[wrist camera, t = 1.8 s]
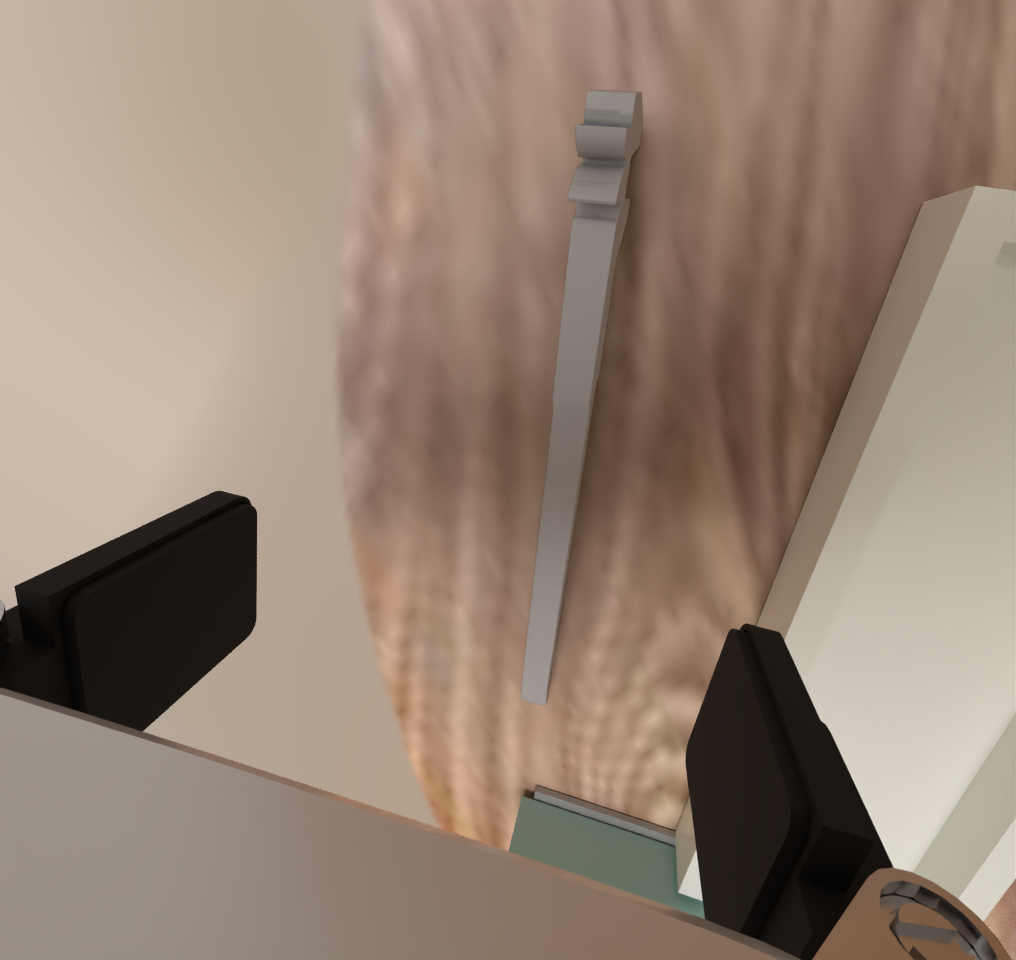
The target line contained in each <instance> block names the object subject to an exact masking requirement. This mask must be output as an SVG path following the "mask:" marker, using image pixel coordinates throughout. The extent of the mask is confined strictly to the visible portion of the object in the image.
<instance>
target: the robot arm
mask: <svg viewBox="0 0 1016 960" xmlns="http://www.w3.org/2000/svg"><path fill="white" fill-rule="evenodd" d="M256 588H257V511H256V509H255V508H254V507H253V506H251V503H250V500H249V499H248V498H246V497H242V496H239V495H235V494H231V493H227V492H223V491H216V492H213V493H211V494H209V495H207V496H205V497H202V498H200V499H199V500H196V501H194V502H192V503H190V504H188V505H185V506H183V507H181V508H179V509H177V510H175V511H173V512H171V513H169V514H166V515H164V516H162V517H160V518H158V519H156V520H154V521H152V522H150V523H147V524H145V525H143V526H141V527H139V528H137V529H135V530H133V531H131V532H128V533H126V534H124V535H122V536H120V537H118V538H116V539H114V540H111V541H109V542H107V543H105V544H103V545H101V546H99V547H97V548H95V549H92V550H90V551H88V552H86V553H84V554H82V555H80V556H78V557H76V558H73V559H71V560H69V561H67V562H65V563H63V564H61V565H59V566H57V567H55V568H52V569H50V570H48V571H46V572H44V573H42V574H40V575H38V576H35V577H33V578H31V579H29V580H27V581H25V582H23V583H21V584H19V585H16V586H15V591H16V597H17V603H18V605H17V606H15V607H13V608H11V609H9V610H7V611H5V606H4V604H3V603H2V602H1V600H0V960H1011V958H1010V956H1009V955H1008V953H1007V952H1006V950H1005V949H1004V947H1003V946H1002V944H1001V943H1000V941H999V939H998V938H997V937H996V936H995V935H994V934H993V932H992V931H991V930H990V929H989V928H988V927H987V926H986V925H985V923H984V922H983V921H982V920H981V919H980V918H979V917H978V916H977V915H976V914H975V913H974V912H973V911H971V910H970V909H969V908H968V907H967V906H966V905H965V904H963V903H962V902H961V901H960V900H959V899H958V898H957V897H955V896H954V895H952V894H951V893H949V892H948V891H946V890H945V889H943V888H942V887H940V886H939V885H937V884H936V883H934V882H932V881H930V880H928V879H926V878H924V877H922V876H919V875H917V874H915V873H913V872H910V871H905V870H901V869H897V868H894V867H893V865H892V863H891V861H890V858H889V856H888V854H887V852H886V850H885V848H884V846H883V843H882V841H881V839H880V837H879V835H878V833H877V831H876V828H875V826H874V824H873V822H872V820H871V818H870V816H869V813H868V811H867V809H866V807H865V805H864V803H863V801H862V798H861V796H860V794H859V792H858V790H857V788H856V786H855V783H854V781H853V779H852V777H851V775H850V773H849V770H848V768H847V766H846V764H845V762H844V760H843V758H842V755H841V753H840V751H839V749H838V747H837V745H836V743H835V740H834V738H833V736H832V734H831V732H830V730H829V729H828V727H827V726H826V724H825V723H823V722H822V721H821V720H820V718H819V716H818V714H817V711H816V709H815V707H814V705H813V703H812V700H811V698H810V696H809V694H808V692H807V689H806V687H805V685H804V683H803V681H802V678H801V676H800V674H799V672H798V670H797V667H796V665H795V663H794V661H793V659H792V656H791V654H790V652H789V650H788V648H787V645H786V643H785V641H784V639H783V637H782V635H781V633H780V632H777V631H774V630H770V629H766V628H762V627H758V626H754V625H750V624H744V625H743V626H742V627H741V629H740V630H737V629H731V630H730V631H729V633H728V635H727V638H726V640H725V643H724V646H723V649H722V651H721V654H720V657H719V660H718V662H717V665H716V668H715V670H714V673H713V676H712V679H711V681H710V684H709V687H708V689H707V692H706V695H705V698H704V700H703V703H702V706H701V709H700V711H699V714H698V717H697V719H696V722H695V725H694V728H693V730H692V733H691V736H690V739H689V741H688V745H687V750H686V771H687V779H688V787H689V795H690V803H691V811H692V819H693V827H694V835H695V843H696V851H697V859H698V867H699V875H700V883H701V891H702V899H703V908H704V916H705V919H703V918H700V917H698V916H695V915H692V914H689V913H687V912H684V911H681V910H678V909H675V908H673V907H670V906H667V905H664V904H662V903H659V902H656V901H653V900H650V899H647V898H644V897H641V896H638V895H635V894H633V893H630V892H627V891H624V890H621V889H618V888H615V887H612V886H610V885H607V884H604V883H601V882H598V881H595V880H592V879H590V878H587V877H584V876H581V875H578V874H575V873H572V872H569V871H566V870H563V869H560V868H557V867H554V866H551V865H548V864H545V863H542V862H539V861H536V860H533V859H530V858H527V857H524V856H521V855H518V854H515V853H512V852H509V851H506V850H503V849H500V848H497V847H494V846H491V845H488V844H485V843H482V842H479V841H476V840H473V839H470V838H467V837H464V836H461V835H458V834H455V833H452V832H449V831H446V830H443V829H440V828H437V827H434V826H431V825H428V824H425V823H422V822H419V821H416V820H413V819H410V818H407V817H404V816H401V815H398V814H394V813H392V812H388V811H385V810H382V809H379V808H376V807H373V806H370V805H367V804H364V803H361V802H358V801H355V800H352V799H349V798H346V797H342V796H340V795H337V794H333V793H330V792H327V791H324V790H321V789H318V788H315V787H312V786H309V785H306V784H303V783H299V782H297V781H294V780H291V779H288V778H285V777H281V776H278V775H275V774H272V773H269V772H266V771H263V770H260V769H256V768H254V767H251V766H248V765H244V764H241V763H238V762H235V761H232V760H229V759H226V758H223V757H220V756H217V755H214V754H211V753H207V752H204V751H201V750H198V749H195V748H192V747H188V746H185V745H182V744H179V743H176V742H173V741H170V740H167V739H164V738H160V737H157V736H154V735H151V734H148V733H145V732H143V731H144V730H145V729H146V728H147V727H148V726H149V725H150V724H151V723H153V722H154V721H155V720H156V719H157V718H158V717H159V716H160V715H161V714H163V713H164V712H165V711H166V710H167V709H168V708H169V707H170V706H171V705H172V704H174V703H175V702H176V701H177V700H178V699H179V698H180V697H182V696H183V695H184V694H185V693H186V692H187V691H188V690H189V689H190V688H192V686H194V685H195V684H196V683H197V682H198V681H199V680H200V679H201V678H203V677H204V676H205V675H206V674H207V673H208V672H209V671H211V670H212V668H214V667H215V666H216V665H217V664H218V663H219V662H221V661H222V660H223V659H224V658H225V657H226V656H227V655H228V654H229V653H231V652H232V651H233V650H234V649H235V648H236V647H237V646H238V645H240V644H241V643H242V642H243V641H244V640H245V639H246V638H247V637H248V636H249V635H250V634H251V632H252V630H253V628H254V626H255V623H256V592H257V589H256Z"/></svg>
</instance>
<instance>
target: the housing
mask: <svg viewBox="0 0 1016 960" xmlns="http://www.w3.org/2000/svg"><path fill="white" fill-rule="evenodd" d="M756 626H758V627H762V628H766V629H770V630H774V631H777V632H780V633H781V635H782V637H783V639H784V641H785V643H786V645H787V648H788V650H789V652H790V654H791V656H792V659H793V661H794V663H795V665H796V667H797V670H798V672H799V674H800V676H801V678H802V681H803V683H804V685H805V687H806V689H807V692H808V694H809V696H810V698H811V700H812V703H813V705H814V707H815V709H816V711H817V714H818V716H819V718H820V720H821V721H822V722H823V723H825V724H826V726H827V727H828V729H829V730H830V732H831V734H832V736H833V738H834V740H835V743H836V745H837V747H838V749H839V751H840V753H841V755H842V758H843V760H844V762H845V764H846V766H847V768H848V770H849V773H850V775H851V777H852V779H853V781H854V783H855V786H856V788H857V790H858V792H859V794H860V796H861V798H862V801H863V803H864V805H865V807H866V809H867V811H868V813H869V816H870V818H871V820H872V822H873V824H874V826H875V828H876V831H877V833H878V835H879V837H880V839H881V841H882V843H883V846H884V848H885V850H886V852H887V854H888V856H889V858H890V861H891V863H892V865H893V867H894V868H897V869H901V870H905V871H910V872H913V873H915V874H917V875H919V876H922V877H924V878H926V879H928V880H930V881H932V882H934V883H936V884H937V885H939V886H940V887H942V888H943V889H945V890H946V891H948V892H949V893H951V894H952V895H954V896H955V897H957V898H958V899H959V900H960V901H961V902H962V903H963V904H965V905H966V906H967V907H968V908H969V909H970V910H971V911H973V912H974V913H975V914H976V915H977V916H978V917H979V918H980V919H981V920H982V921H984V920H985V918H986V917H987V916H988V914H989V913H990V912H991V910H992V909H993V908H994V906H995V905H996V904H997V902H998V901H999V900H1000V899H1001V897H1002V896H1003V895H1004V893H1005V892H1006V891H1007V889H1008V888H1009V887H1010V885H1011V884H1012V883H1013V881H1014V880H1015V879H1016V191H1014V190H1006V189H999V188H991V187H983V186H973V187H970V188H967V189H963V190H960V191H957V192H954V193H951V194H948V195H944V196H941V197H938V198H935V199H932V200H929V201H925V202H923V204H922V206H921V209H920V212H919V214H918V217H917V219H916V222H915V224H914V227H913V229H912V232H911V234H910V237H909V239H908V242H907V245H906V247H905V250H904V252H903V255H902V257H901V260H900V262H899V265H898V267H897V270H896V272H895V275H894V278H893V280H892V283H891V285H890V288H889V290H888V293H887V295H886V298H885V300H884V303H883V305H882V308H881V311H880V313H879V316H878V318H877V321H876V323H875V326H874V328H873V331H872V333H871V336H870V338H869V341H868V344H867V346H866V349H865V351H864V354H863V356H862V359H861V361H860V364H859V366H858V369H857V371H856V374H855V376H854V379H853V382H852V384H851V387H850V389H849V392H848V394H847V397H846V399H845V402H844V404H843V407H842V409H841V412H840V415H839V417H838V420H837V422H836V425H835V427H834V430H833V432H832V435H831V437H830V440H829V442H828V445H827V448H826V450H825V453H824V455H823V458H822V460H821V463H820V465H819V468H818V470H817V473H816V475H815V478H814V481H813V483H812V486H811V488H810V491H809V493H808V496H807V498H806V501H805V503H804V506H803V508H802V511H801V514H800V516H799V519H798V521H797V524H796V526H795V529H794V531H793V534H792V536H791V539H790V541H789V544H788V547H787V549H786V552H785V554H784V557H783V559H782V562H781V564H780V567H779V569H778V572H777V574H776V577H775V579H774V582H773V585H772V587H771V590H770V592H769V595H768V597H767V600H766V602H765V605H764V607H763V610H762V612H761V615H760V618H759V620H758V623H757V625H756ZM533 800H536V801H539V802H542V803H545V804H548V805H551V806H553V807H556V808H559V809H562V810H565V811H568V812H571V813H574V814H577V815H580V816H583V817H586V818H589V819H592V820H595V821H598V822H601V823H604V824H607V825H610V826H613V827H616V828H619V829H622V830H625V831H628V832H631V833H634V834H636V835H639V836H642V837H645V838H648V839H651V840H654V841H657V842H660V843H663V844H666V845H669V846H672V847H675V848H676V863H677V882H678V893H681V894H684V895H687V896H689V897H692V898H695V899H698V900H701V901H703V899H702V891H701V883H700V875H699V867H698V859H697V851H696V843H695V835H694V827H693V819H692V811H691V803H690V795H689V798H688V800H687V803H686V805H685V808H684V810H683V813H682V815H681V818H680V821H679V823H678V826H677V828H676V831H672V830H669V829H666V828H663V827H660V826H657V825H654V824H651V823H648V822H645V821H642V820H639V819H636V818H633V817H630V816H627V815H624V814H621V813H618V812H615V811H612V810H609V809H606V808H603V807H600V806H597V805H594V804H591V803H588V802H585V801H582V800H579V799H576V798H573V797H570V796H567V795H564V794H561V793H558V792H555V791H552V790H549V789H546V788H543V787H540V786H536V790H535V794H534V798H533Z"/></svg>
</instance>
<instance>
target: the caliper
mask: <svg viewBox="0 0 1016 960" xmlns="http://www.w3.org/2000/svg"><path fill="white" fill-rule="evenodd" d="M642 125H643V114H642V92H628V91H609V90H591V91H587V99H586V108H585V116H584V124H580V125H575V141H576V148H577V152H578V156H579V157H582V160H581V164H580V165H578V167H577V169H576V171H575V174H574V177H573V180H572V183H571V187H570V190H569V194H568V201H571V202H577V207H576V214H575V216H574V217H573V220H572V227H571V235H570V244H569V253H568V263H567V272H566V281H565V290H564V299H563V308H562V317H561V326H560V335H559V344H558V353H557V362H556V371H555V380H554V389H553V398H552V403H554V408H553V417H552V425H551V434H550V443H549V452H548V460H547V469H546V478H545V486H544V495H543V504H542V512H541V521H540V530H539V538H538V547H537V556H536V565H535V573H534V582H533V591H532V599H531V608H530V617H529V626H528V634H527V643H526V652H525V661H524V669H523V678H522V687H521V692H523V693H522V700H524V701H528V702H532V703H535V704H539V705H543V706H546V702H547V696H548V689H549V683H550V677H551V672H552V666H553V660H554V654H555V648H556V642H557V636H558V629H559V623H560V616H561V610H562V603H563V597H564V590H565V584H566V577H567V571H568V564H569V558H570V551H571V545H572V538H573V532H574V525H575V519H576V512H577V506H578V499H579V493H580V487H581V480H582V474H583V467H584V461H585V454H586V448H587V441H588V435H589V428H590V422H591V415H592V409H593V403H594V396H595V390H596V384H597V381H598V377H599V373H600V367H601V361H602V354H603V346H604V340H605V334H606V328H607V322H608V315H609V308H610V300H611V293H612V284H613V278H614V272H615V265H616V260H617V256H618V253H619V249H620V245H621V241H622V237H623V234H624V230H625V226H626V222H627V219H628V213H629V207H630V201H631V199H630V198H625V195H626V189H627V182H628V175H629V169H630V162H631V156H632V155H633V154H634V153H635V151H636V150H637V149H638V148H639V147H640V140H641V133H642Z"/></svg>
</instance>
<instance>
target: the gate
mask: <svg viewBox="0 0 1016 960" xmlns="http://www.w3.org/2000/svg"><path fill="white" fill-rule="evenodd" d="M509 852H512V853H515V854H518V855H521V856H524V857H527V858H530V859H533V860H536V861H539V862H542V863H545V864H548V865H551V866H554V867H557V868H560V869H563V870H566V871H569V872H572V873H575V874H578V875H581V876H584V877H587V878H590V879H592V880H595V881H598V882H601V883H604V884H607V885H610V886H612V887H615V888H618V889H621V890H624V891H627V892H630V893H633V894H635V895H638V896H641V897H644V898H647V899H650V900H653V901H656V902H659V903H662V904H664V905H667V906H670V907H673V908H675V909H678V910H681V911H684V912H687V913H689V914H692V915H695V916H698V917H700V918H703V919H705V916H704V908H703V901H701V900H698V899H695V898H692V897H689V896H687V895H684V894H681V893H678V882H677V863H676V848H675V847H672V846H669V845H666V844H663V843H660V842H657V841H654V840H651V839H648V838H645V837H642V836H639V835H636V834H634V833H631V832H628V831H625V830H622V829H619V828H616V827H613V826H610V825H607V824H604V823H601V822H598V821H595V820H592V819H589V818H586V817H583V816H580V815H577V814H574V813H571V812H568V811H565V810H562V809H559V808H556V807H553V806H551V805H548V804H545V803H542V802H539V801H536V800H533V799H530V798H527V797H524V796H522V799H521V803H520V807H519V811H518V815H517V819H516V823H515V827H514V831H513V836H512V840H511V844H510V848H509Z"/></svg>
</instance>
